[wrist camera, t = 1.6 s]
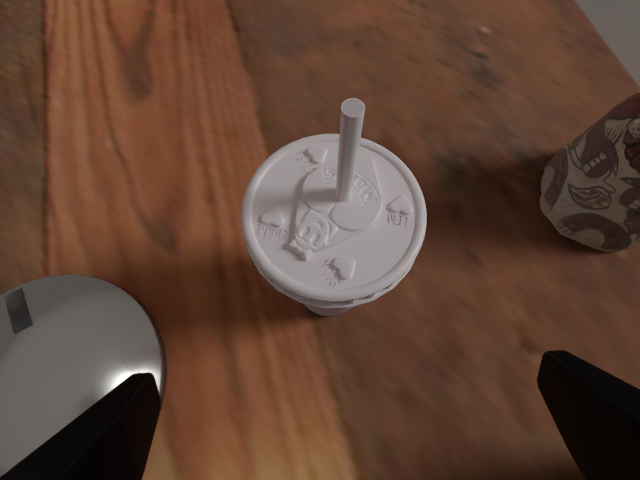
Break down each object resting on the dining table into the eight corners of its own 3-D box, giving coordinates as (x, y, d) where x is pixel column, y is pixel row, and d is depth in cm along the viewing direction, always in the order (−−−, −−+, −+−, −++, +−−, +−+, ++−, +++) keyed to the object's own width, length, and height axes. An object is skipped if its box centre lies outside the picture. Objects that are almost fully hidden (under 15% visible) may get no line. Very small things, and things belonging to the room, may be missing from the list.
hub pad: (202, 437, 19) (197, 439, 18) (-50, 590, 16) (-67, 599, 16) (123, 243, 23) (116, 238, 22) (-89, 346, 20) (-104, 344, 20)
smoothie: (405, 272, 22) (529, 99, 9) (342, 366, 20) (381, 320, 7) (317, 214, 23) (311, -10, 10) (250, 295, 21) (138, 148, 8)
